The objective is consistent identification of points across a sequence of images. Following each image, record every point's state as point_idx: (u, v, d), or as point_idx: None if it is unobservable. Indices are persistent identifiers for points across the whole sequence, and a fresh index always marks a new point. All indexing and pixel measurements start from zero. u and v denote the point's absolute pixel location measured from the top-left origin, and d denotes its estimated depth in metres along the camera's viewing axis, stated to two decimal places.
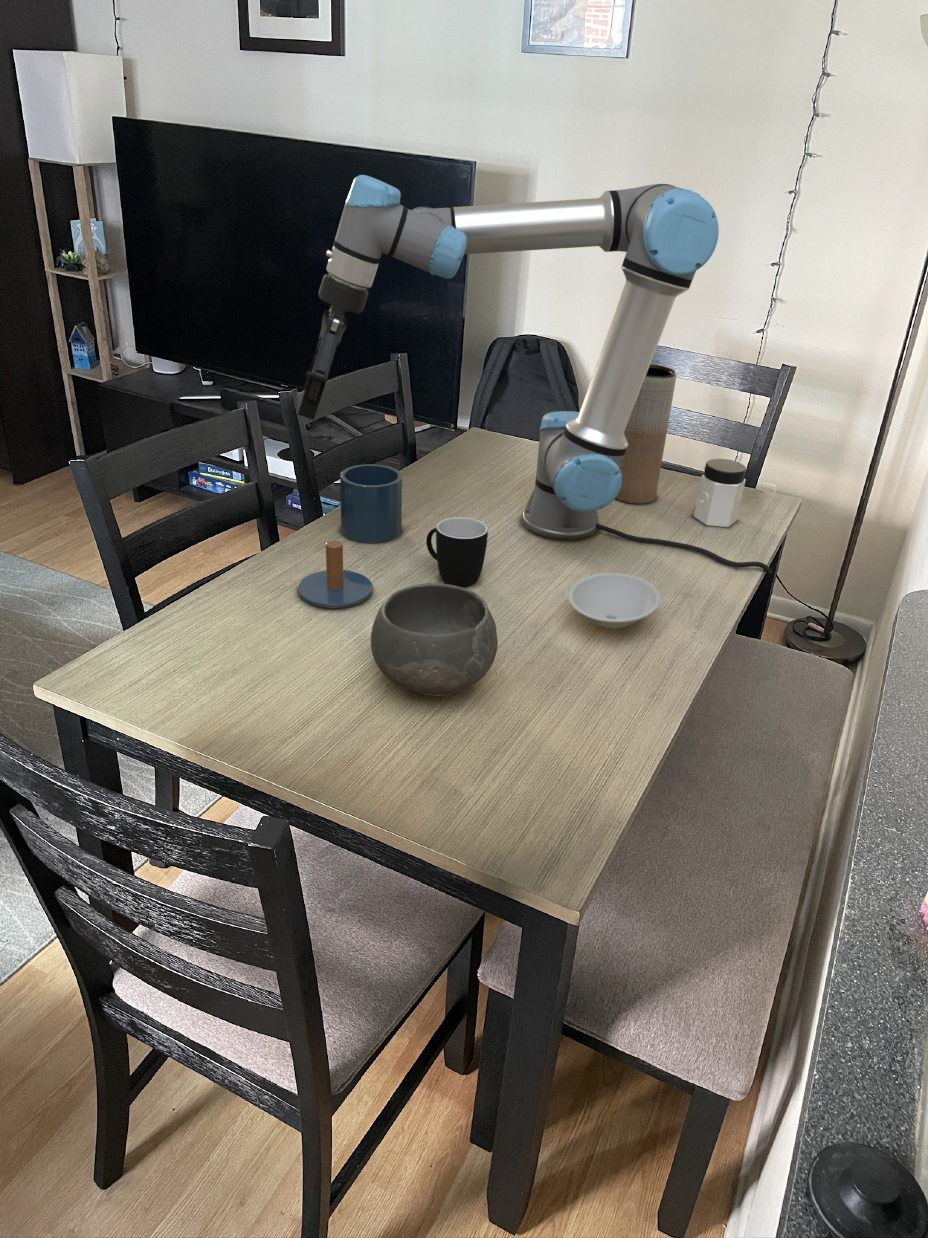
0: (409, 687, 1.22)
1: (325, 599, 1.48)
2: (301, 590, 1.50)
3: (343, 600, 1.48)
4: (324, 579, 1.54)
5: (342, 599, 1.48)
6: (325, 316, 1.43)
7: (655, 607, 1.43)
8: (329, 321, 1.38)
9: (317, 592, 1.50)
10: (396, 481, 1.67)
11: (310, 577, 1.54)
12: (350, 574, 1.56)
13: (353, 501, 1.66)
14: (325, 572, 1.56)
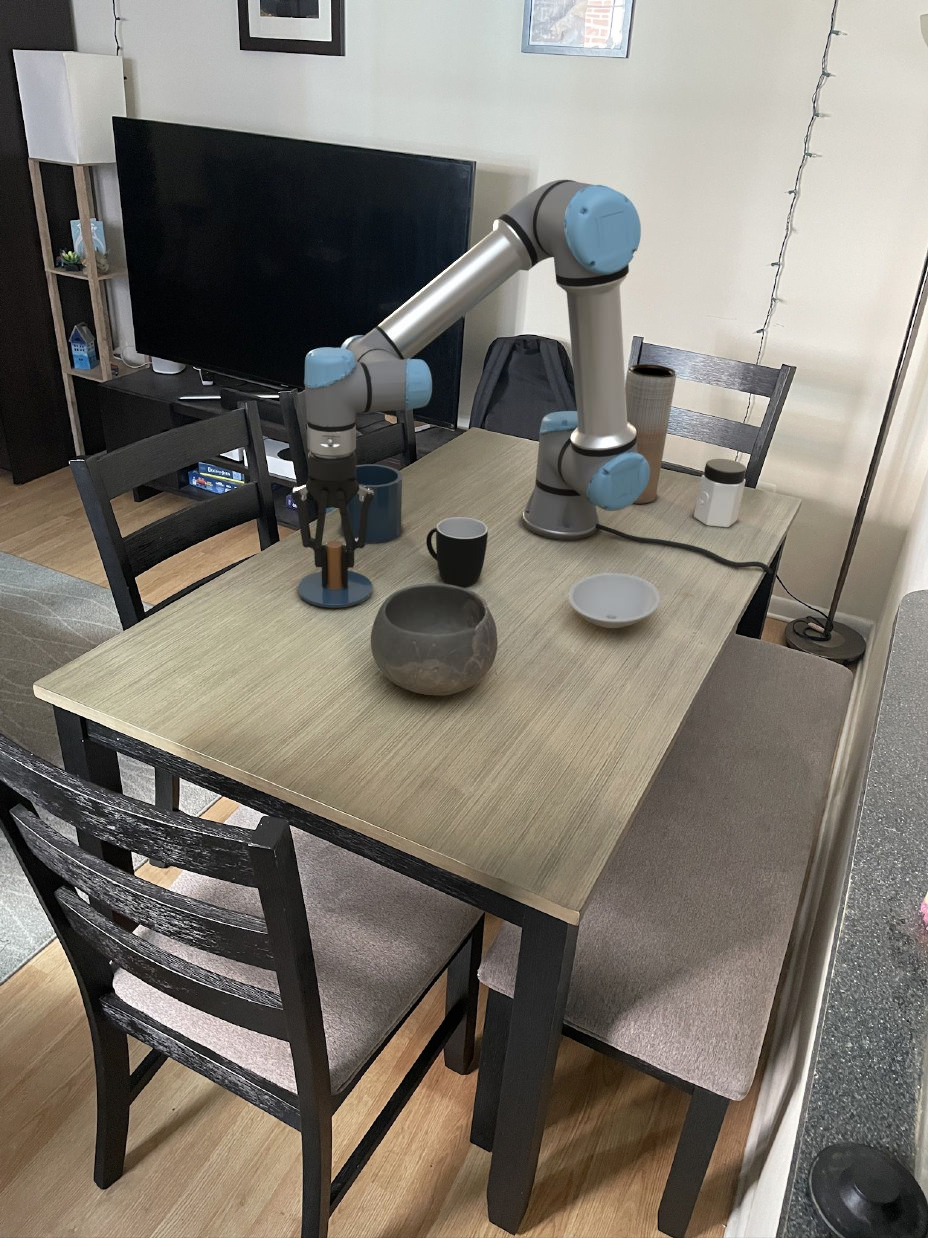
0: (409, 687, 1.22)
1: (325, 599, 1.48)
2: (301, 590, 1.50)
3: (343, 600, 1.48)
4: None
5: (342, 599, 1.48)
6: (344, 493, 1.42)
7: (655, 607, 1.43)
8: (372, 498, 1.43)
9: (317, 592, 1.50)
10: (396, 481, 1.67)
11: (310, 577, 1.54)
12: (350, 574, 1.56)
13: (353, 501, 1.66)
14: None
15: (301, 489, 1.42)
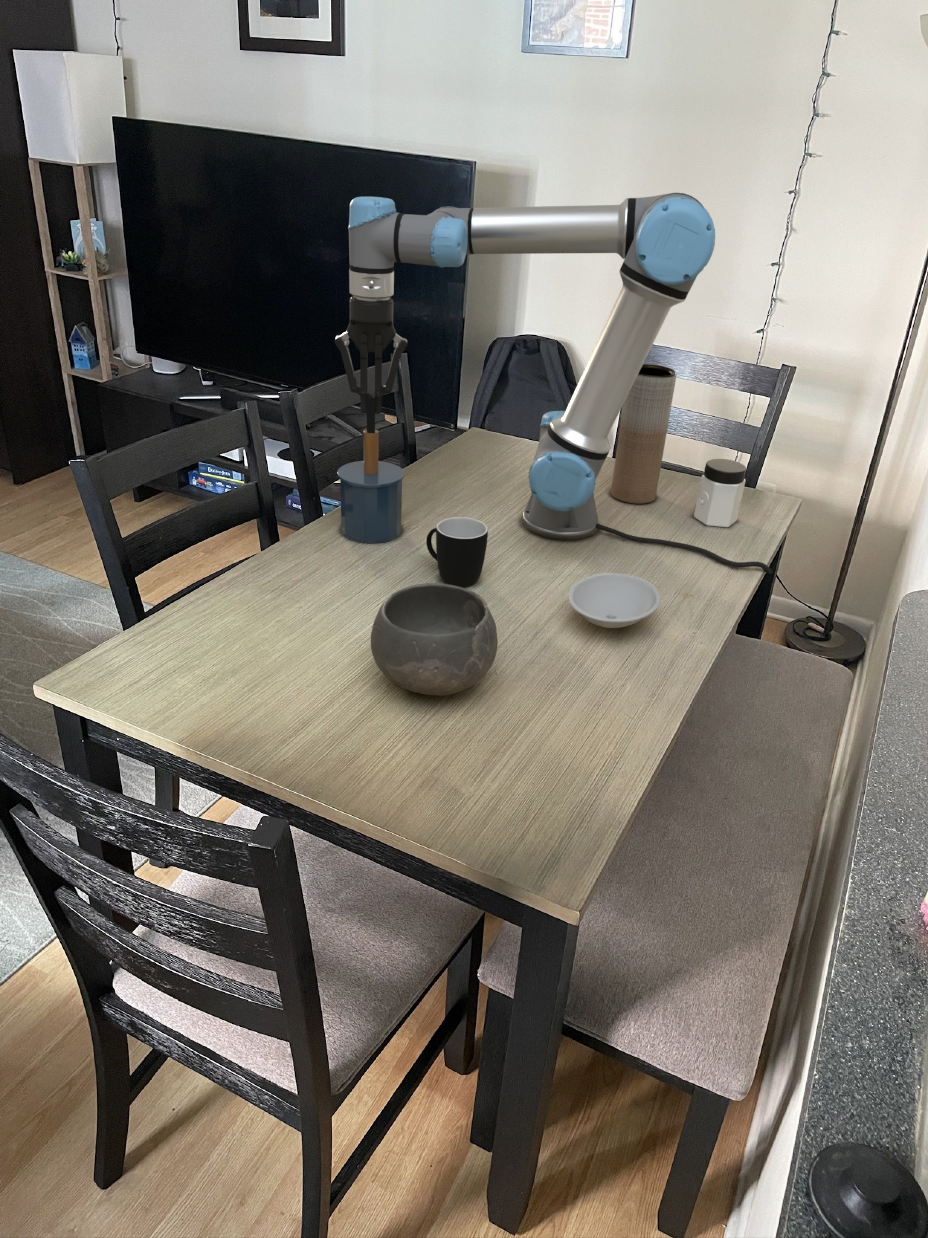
0: (409, 687, 1.22)
1: (363, 481, 1.65)
2: (341, 474, 1.67)
3: (379, 481, 1.65)
4: (360, 467, 1.71)
5: (378, 481, 1.65)
6: (381, 337, 1.55)
7: (655, 607, 1.43)
8: (406, 346, 1.56)
9: (355, 476, 1.67)
10: None
11: (348, 465, 1.71)
12: (383, 464, 1.73)
13: (353, 501, 1.66)
14: (361, 462, 1.73)
15: (343, 335, 1.55)
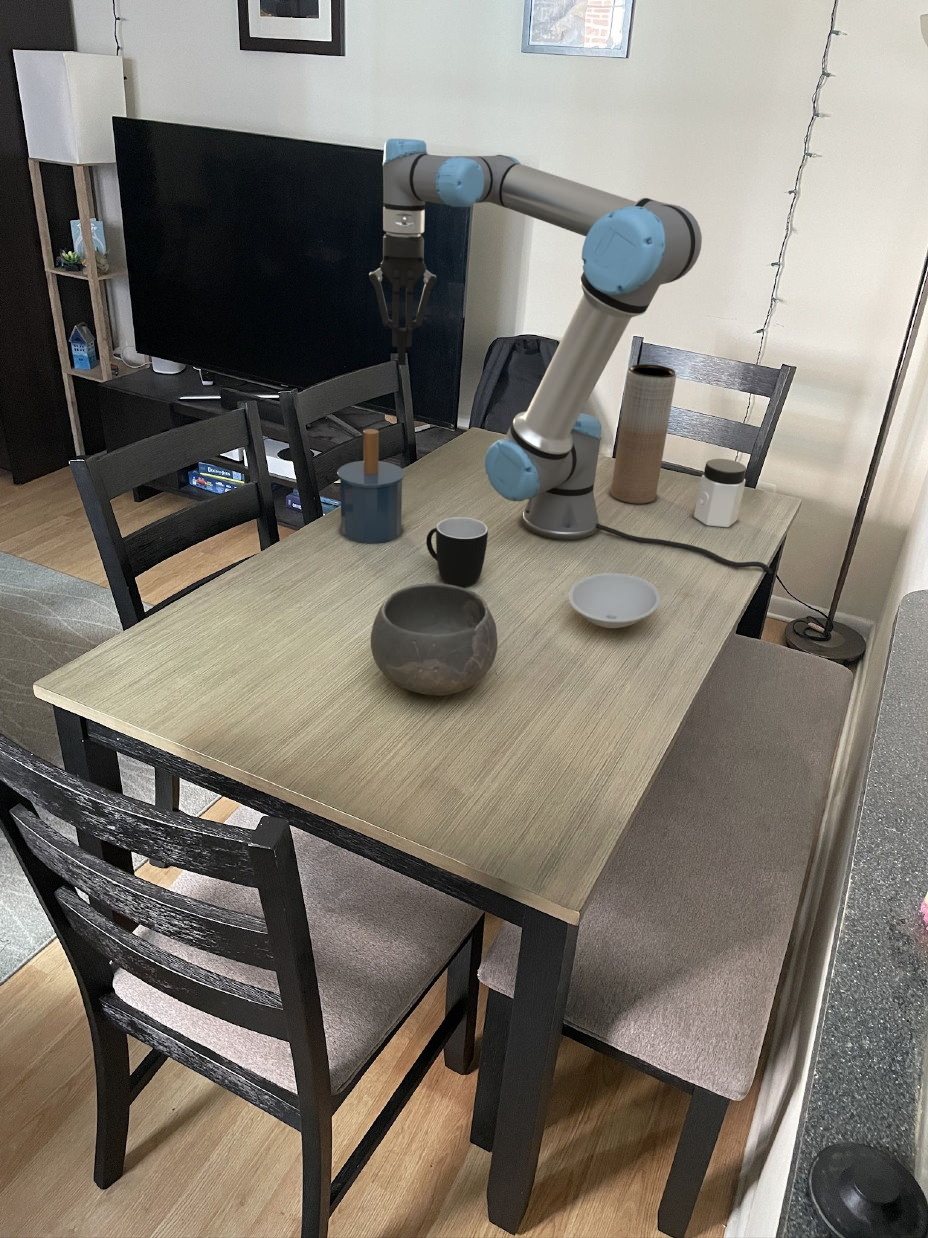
0: (409, 687, 1.22)
1: (363, 481, 1.65)
2: (341, 474, 1.67)
3: (379, 481, 1.65)
4: (360, 467, 1.71)
5: (378, 481, 1.65)
6: (413, 273, 1.66)
7: (655, 607, 1.43)
8: (435, 282, 1.67)
9: (355, 476, 1.67)
10: None
11: (348, 465, 1.71)
12: (383, 464, 1.73)
13: (353, 501, 1.66)
14: (361, 462, 1.73)
15: (377, 271, 1.66)
